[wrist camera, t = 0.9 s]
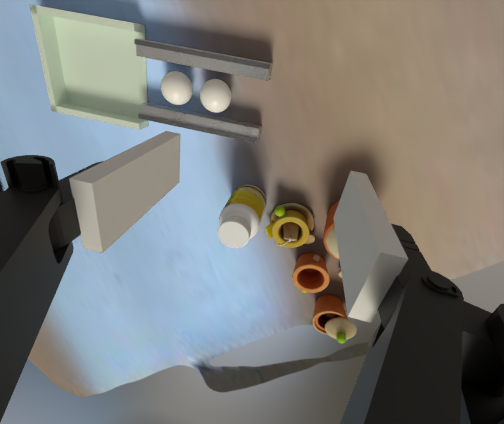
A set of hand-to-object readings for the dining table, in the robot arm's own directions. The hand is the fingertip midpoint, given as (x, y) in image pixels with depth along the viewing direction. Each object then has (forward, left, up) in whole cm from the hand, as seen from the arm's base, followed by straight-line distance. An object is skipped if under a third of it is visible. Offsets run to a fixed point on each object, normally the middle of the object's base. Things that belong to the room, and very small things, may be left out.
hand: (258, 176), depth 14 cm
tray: (-26, 0, -23) cm, 35 cm away
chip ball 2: (-9, 0, -23) cm, 25 cm away
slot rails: (-11, 0, -23) cm, 26 cm away
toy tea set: (+12, -21, -24) cm, 34 cm away
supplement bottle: (-3, -14, -24) cm, 28 cm away
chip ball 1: (-14, 0, -23) cm, 27 cm away
